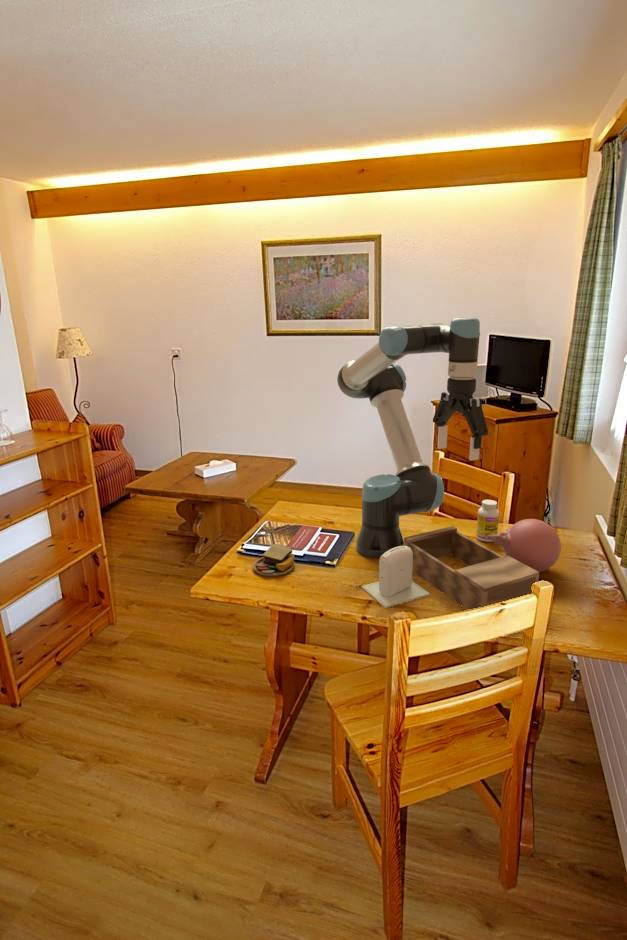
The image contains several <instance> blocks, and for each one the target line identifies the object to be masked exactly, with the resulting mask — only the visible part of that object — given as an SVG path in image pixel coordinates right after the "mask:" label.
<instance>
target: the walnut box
mask: <svg viewBox="0 0 627 940" xmlns="http://www.w3.org/2000/svg"><path fill="white" fill-rule="evenodd" d="M403 541H404V546H407V547H410V548H411V550H412V552H413V570H412V573H414V574H415V575H417V576H418V577H420V579H422V580H424V581H425V582H427V583H428V584H430V585H431V586H432V587H434V588H435V589H437V590H438V591H439V590H440V591H439V592H441V593H442V592H443V593H442V594H444V595H445V596H446V595H447V597H448V598H449V597H450V599H451V600H452V599H453V600H452V601H453V602H455V601H456V602H457V603H456V602H455V603H456V604H458V605H459V604H460V605H459V606H461V605H462V606H463V607H464V608H463V607H462V606H461V607H462V608H463V609H465V610H466V609H473V608H478V607H484V606H487V605H491V604H495V603H499V602H502V601H506V600H509V599H512V598H516V597H520V596H523V595H527V594H531V593H532V590H531V586H532V584H533V583H535V582H538V583H539V578H540V572H538V571H536V570H534V569H532V568H531V567H529V566H527V565H525V564H523V563H521V562H519V561H517V560H516V559H514V558H512V557H510V556H508V555H507V556H506V555H505V556H503V555H501V554H500V553H498V552H496V551H494V550H492V549H490V548H488V547H487V546H485V545H483V544H481V543H479V542H478V541H475V540H474V539H472V538H470V537H468V536H466V535H465V534H463V533H461V532H459V531H458V527H456V526H454V525H452V526H447V527H443V528H439V529H435V530H431V531H430V530H429V531H426V532H422V533H418V534H413V535H410V536H406V537H403ZM450 555H451V556H453V557H454V558H456V559H457V560H459V561H461V562H462V563H464V564H466V565H467V566H464V567H460V568H458V569H453V568H452V567H450V566H449V565H447V564H445V563H444V562H442V561H441V560H440V559H439V558H442V557H447V556H450Z"/></svg>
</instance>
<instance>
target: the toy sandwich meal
mask: <svg viewBox="0 0 627 940" xmlns="http://www.w3.org/2000/svg"><path fill="white" fill-rule="evenodd" d="M294 560H295V555H293V549H292V548H291V547H289V546H287V545H283V544H278V543H277V544H275V543H274V544H271V546H270V547H269V548H267V549H266V551H265V552H264V553H263V554H262V557H260V558H258V559H256V560H255V561H254V562H253V564H252V568H253V570H254V571H255V573H258V575H261V576H265V577H279V576H283V575H286V574H288V573H290V572H291V571H292V570H293V569H294V568H295V564H296V563H295V561H294Z"/></svg>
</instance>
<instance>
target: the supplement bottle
mask: <svg viewBox="0 0 627 940" xmlns="http://www.w3.org/2000/svg"><path fill="white" fill-rule="evenodd" d="M497 506H498V502H497V501H496V500H492V499H483V500H482V501H481V507H480V508H479V509H478V511H477V520H476V521H477V523H476V533H475V536H476V539H477V540H479V541H482V542H486V543H492V542H493V540H491V539H488V536H489V535H497V534H498V532H499V531H498V530H499V521H500V520H499V519H500V511H499V510H498V509H497ZM493 543H494V542H493Z"/></svg>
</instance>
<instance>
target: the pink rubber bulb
mask: <svg viewBox="0 0 627 940" xmlns="http://www.w3.org/2000/svg"><path fill="white" fill-rule="evenodd" d="M488 539H491V540H493V543H494V544H495V545H496V546H501V547H502V548H503V550H504V553H505V556H507V555H508V556H510V557H512V558H514V559H516V560H517V561H519V562H521V563H523V564H525V565H527V566H529V567H531V568H532V569H534V570H536V571H538V572H539V573H542V572H544V571H547V570H550V568H552V567H553V566H554V565H555V564H557V561H558V560H559V558H560V555H561V551H562V544H561V538H560V536H559V534H558V533H557V531H556V530H555V529H554V528H553V526H552V525H550V524H549V523H548V522H546V521H543V520H541V519H538V518H537V519H536V518H525V519H521V520H519V521H516V522H515V523H514V524H513V525H512V526H510V527H508V528H507V529H505V531H501V532H499V533H497V535H489V536H488Z"/></svg>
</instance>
